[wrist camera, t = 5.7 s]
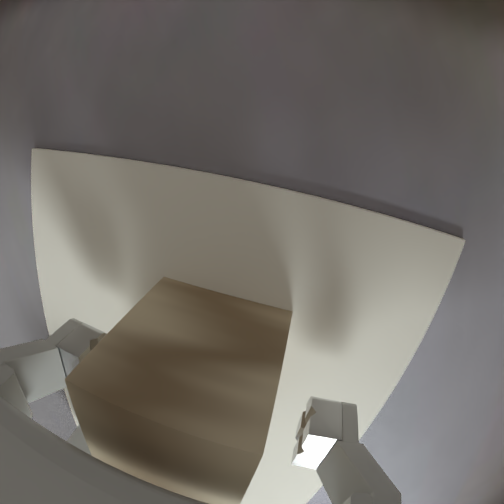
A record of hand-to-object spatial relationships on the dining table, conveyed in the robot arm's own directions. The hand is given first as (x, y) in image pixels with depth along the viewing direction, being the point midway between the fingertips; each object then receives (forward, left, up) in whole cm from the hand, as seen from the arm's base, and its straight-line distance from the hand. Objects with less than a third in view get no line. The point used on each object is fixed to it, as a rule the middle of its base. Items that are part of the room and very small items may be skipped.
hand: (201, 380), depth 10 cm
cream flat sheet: (+1, +5, -2) cm, 6 cm away
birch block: (0, 0, -2) cm, 2 cm away
